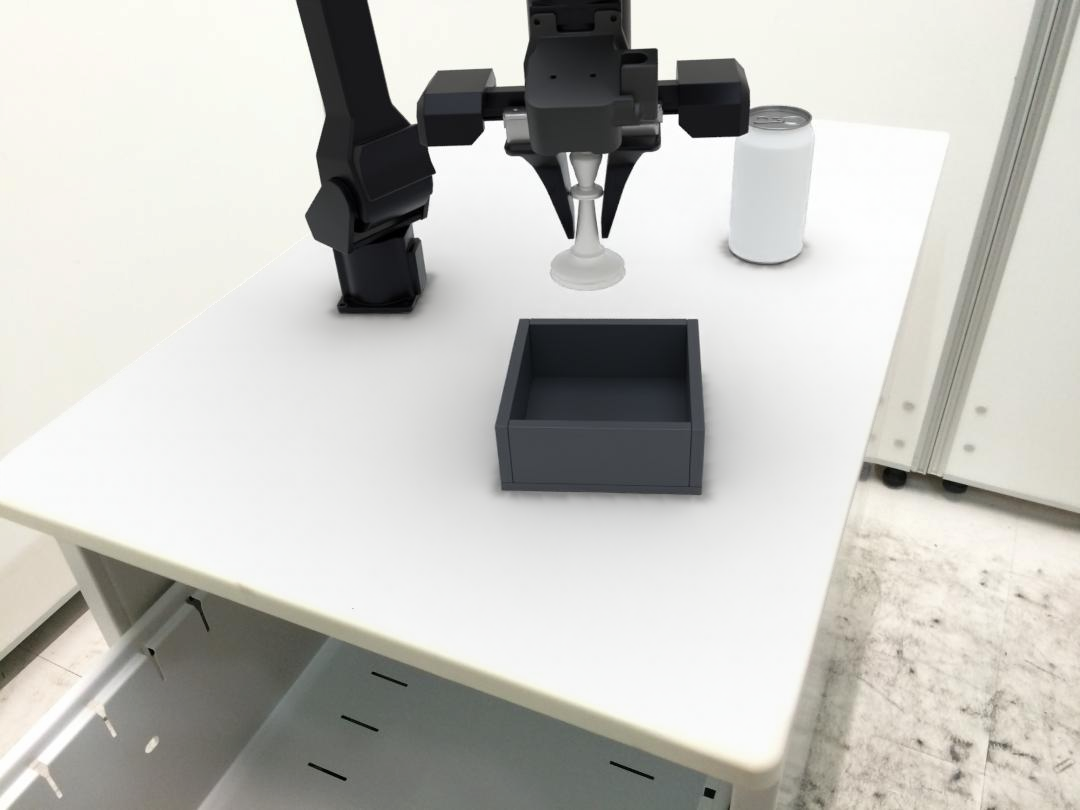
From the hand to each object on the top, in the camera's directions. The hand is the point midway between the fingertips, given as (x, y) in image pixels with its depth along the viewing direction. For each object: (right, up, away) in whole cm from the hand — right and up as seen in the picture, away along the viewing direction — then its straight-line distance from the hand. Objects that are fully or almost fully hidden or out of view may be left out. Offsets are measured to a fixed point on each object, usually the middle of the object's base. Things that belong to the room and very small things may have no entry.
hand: (588, 236), depth 60 cm
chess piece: (0, -2, +2) cm, 3 cm away
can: (+17, +3, +24) cm, 30 cm away
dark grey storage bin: (+1, -12, +4) cm, 13 cm away
